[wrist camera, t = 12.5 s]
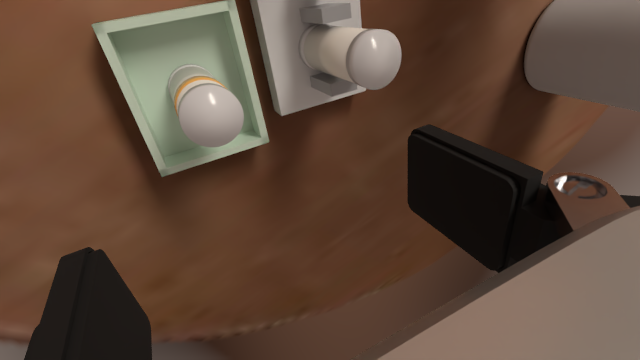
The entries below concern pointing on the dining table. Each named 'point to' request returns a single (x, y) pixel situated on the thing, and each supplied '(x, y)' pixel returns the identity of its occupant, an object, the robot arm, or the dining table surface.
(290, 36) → the holder
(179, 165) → the tray
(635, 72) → the cylinder vase
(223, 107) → the fuse marked
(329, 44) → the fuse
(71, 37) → the dining table surface
